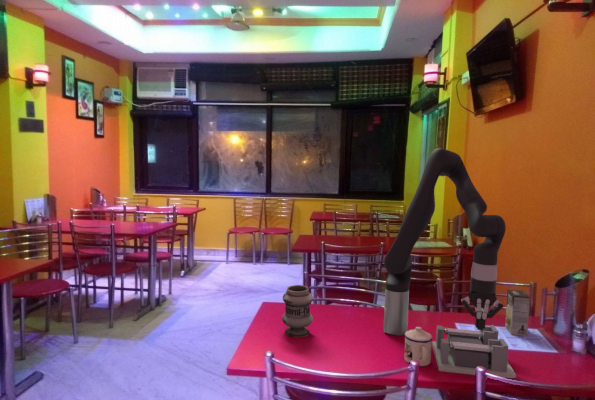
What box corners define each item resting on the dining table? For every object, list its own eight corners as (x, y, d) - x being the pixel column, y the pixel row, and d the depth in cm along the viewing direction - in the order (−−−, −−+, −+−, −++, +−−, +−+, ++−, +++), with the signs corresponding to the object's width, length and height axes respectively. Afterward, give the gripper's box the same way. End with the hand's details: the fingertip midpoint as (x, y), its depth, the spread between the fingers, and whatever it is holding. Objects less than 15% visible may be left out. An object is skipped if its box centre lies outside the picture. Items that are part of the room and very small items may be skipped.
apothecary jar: (276, 335, 162) (277, 289, 161) (289, 324, 173) (289, 282, 172) (306, 341, 157) (307, 294, 156) (316, 329, 169) (317, 285, 167)
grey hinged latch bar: (444, 336, 149) (444, 330, 149) (443, 332, 152) (443, 327, 152) (491, 341, 146) (492, 335, 146) (489, 337, 149) (489, 331, 149)
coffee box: (504, 326, 176) (506, 288, 174) (520, 327, 174) (523, 290, 173) (510, 335, 167) (513, 295, 165) (528, 336, 165) (530, 296, 164)
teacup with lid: (400, 354, 147) (401, 322, 146) (426, 354, 148) (427, 322, 147) (410, 371, 135) (412, 336, 135) (438, 371, 136) (440, 336, 135)
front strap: (449, 350, 137) (449, 344, 137) (447, 346, 140) (448, 340, 140) (501, 356, 134) (501, 349, 134) (498, 352, 137) (498, 345, 137)
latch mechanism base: (438, 370, 136) (440, 341, 135) (432, 345, 156) (433, 319, 155) (515, 379, 131) (517, 348, 131) (498, 351, 151) (500, 324, 150)
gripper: (463, 277, 132) (459, 331, 134) (509, 281, 129) (504, 336, 131) (459, 272, 139) (456, 322, 141) (502, 275, 137) (498, 327, 138)
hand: (479, 329), depth 136 cm, fingers closed
